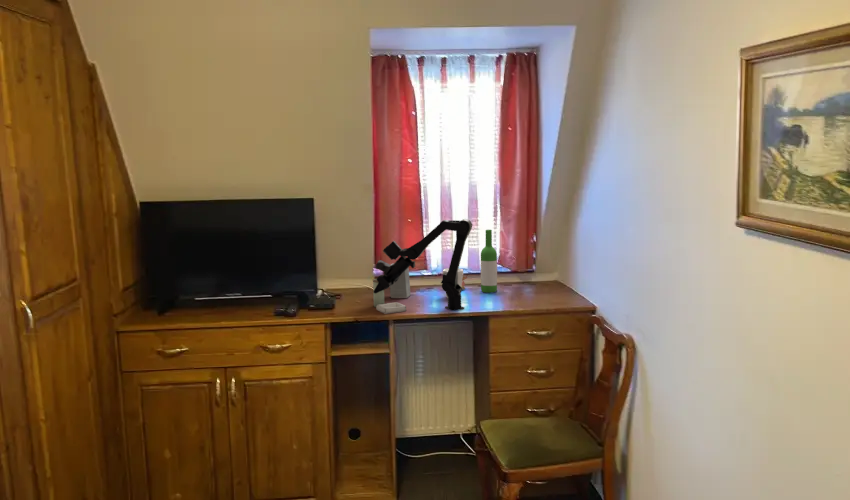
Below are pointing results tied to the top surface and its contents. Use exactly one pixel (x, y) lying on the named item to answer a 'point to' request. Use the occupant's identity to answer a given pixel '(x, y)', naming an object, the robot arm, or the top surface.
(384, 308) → the tray
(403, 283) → the skincare box
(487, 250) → the wine bottle
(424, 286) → the top surface
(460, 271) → the foam cup
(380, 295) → the peg
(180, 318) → the top surface
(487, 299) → the top surface
